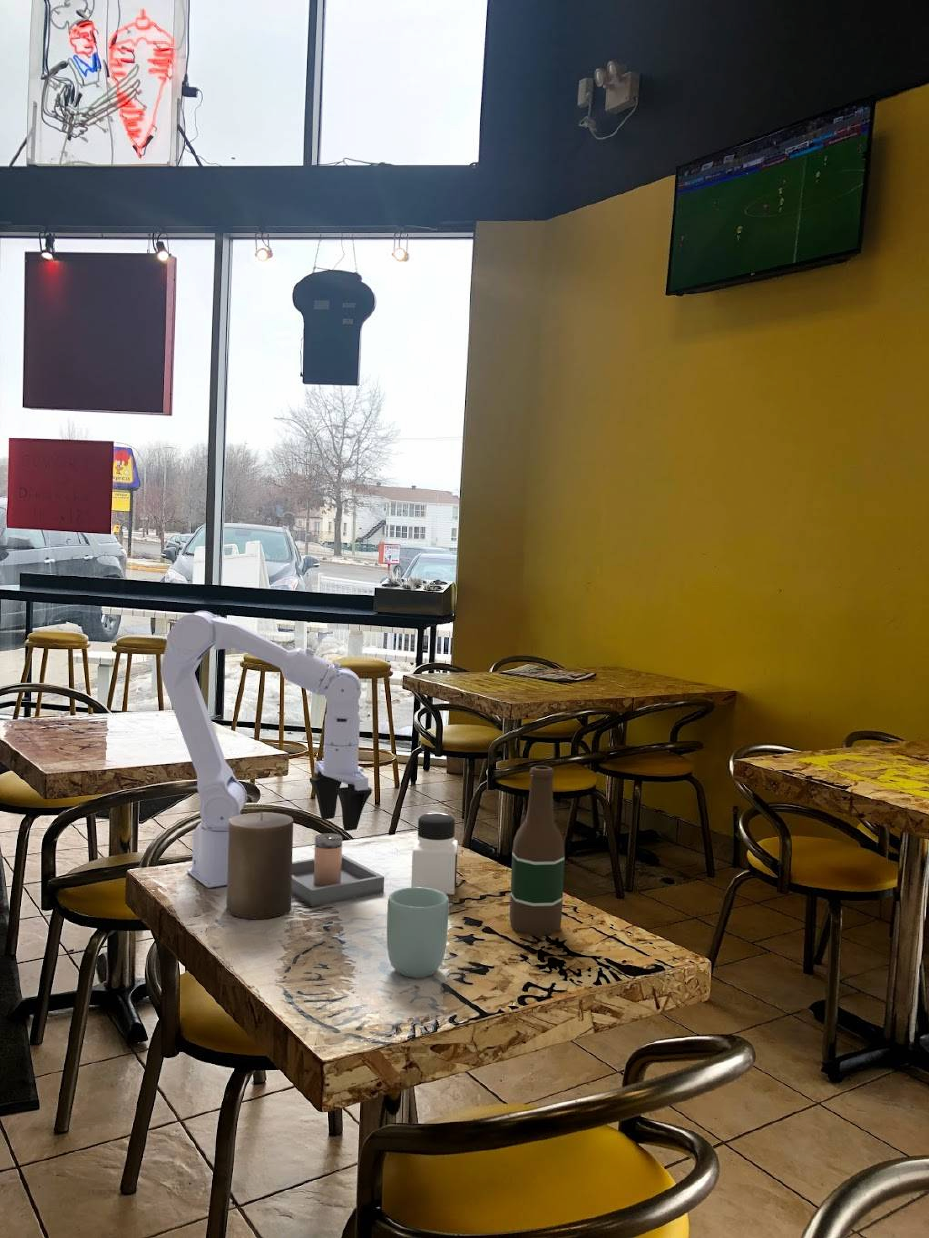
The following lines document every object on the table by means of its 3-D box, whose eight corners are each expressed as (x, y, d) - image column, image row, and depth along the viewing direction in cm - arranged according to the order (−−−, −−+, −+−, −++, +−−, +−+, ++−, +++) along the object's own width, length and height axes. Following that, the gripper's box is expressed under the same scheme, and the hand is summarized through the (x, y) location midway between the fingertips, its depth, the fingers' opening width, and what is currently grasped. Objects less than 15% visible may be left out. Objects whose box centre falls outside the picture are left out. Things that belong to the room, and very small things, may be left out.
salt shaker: (308, 880, 162) (310, 835, 162) (332, 876, 165) (333, 832, 165) (322, 888, 159) (323, 842, 158) (345, 883, 162) (347, 838, 161)
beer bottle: (558, 939, 143) (566, 775, 142) (505, 933, 145) (512, 770, 143) (563, 920, 151) (571, 764, 149) (513, 914, 152) (519, 760, 151)
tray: (271, 880, 164) (271, 865, 164) (340, 868, 171) (341, 853, 171) (311, 906, 152) (312, 890, 152) (383, 892, 160) (384, 876, 160)
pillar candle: (290, 919, 147) (294, 819, 146) (222, 920, 145) (226, 819, 145) (291, 897, 156) (294, 803, 156) (228, 898, 155) (231, 803, 154)
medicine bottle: (455, 895, 160) (458, 822, 159) (410, 893, 160) (413, 820, 159) (456, 880, 167) (459, 810, 166) (413, 879, 167) (416, 808, 167)
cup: (413, 954, 136) (416, 882, 135) (457, 971, 131) (460, 897, 130) (373, 971, 130) (376, 896, 129) (418, 989, 125) (421, 912, 124)
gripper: (385, 748, 160) (382, 831, 161) (340, 733, 172) (338, 810, 173) (347, 752, 156) (344, 837, 157) (304, 736, 168) (301, 815, 169)
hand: (338, 824), depth 165 cm, fingers open, 7 cm apart
